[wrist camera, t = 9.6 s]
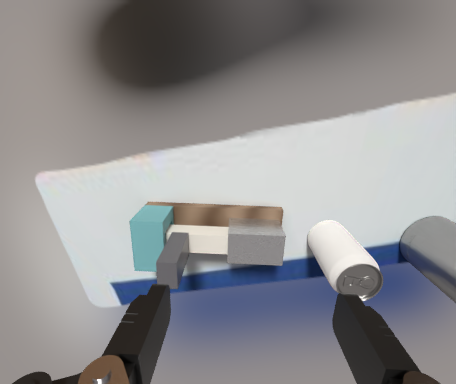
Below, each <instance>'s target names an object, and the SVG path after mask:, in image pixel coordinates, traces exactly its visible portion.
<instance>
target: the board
mask: <svg viewBox="0 0 456 384" xmlns="http://www.w3.org/2000/svg"><path fill="white" fill-rule="evenodd" d="M146 205H156V206H173V215H174V225H194V226H217V227H229V218H247V219H271V220H279V221H280V223H281V226H282V218H283V209H282V207H265V206H240V205H216V204H191V203H166V202H148V203H147V204H146Z"/></svg>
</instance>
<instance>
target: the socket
mask: <svg viewBox="0 0 456 384" xmlns="http://www.w3.org/2000/svg"><path fill="white" fill-rule="evenodd" d="M169 225H174V215H173V206H156V205H145V206H144V207H143V208H142V209H141V210H140V211H139V212H138V213H137V214H136V215H135V216H134V217H133V218H132V219H131V220H130V229H131V239H132V249H133V258H134V268H135V271H152V272H157V271H156V261H157V259H158V258H159V256H160V254H161V252H162V250H163V248H164V246H165V244H166V239H165V232H166V230H167V228H168V226H169Z"/></svg>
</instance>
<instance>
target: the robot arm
mask: <svg viewBox="0 0 456 384" xmlns="http://www.w3.org/2000/svg"><path fill="white" fill-rule="evenodd" d="M400 251H401V253H402V255H403V257H404V258H405V259H406V260H407V261H408V262H409V263H411V264H412V265H413V266H414V267H415V268H416V269H418V270H419V271H420V272H421V273H422V274H423V275H424V276H425V277H426V278H428V279H429V280H430V281H431V282H432V283H433V284H434V285H436V286H437V287H438V288H439V289H440V290H441V291H442V292H444V293H445V294H446V295H447V296H448V297H449V298H451V299H452V300H453V301H454V302H455V303H456V223H454V222H452V221H450V220H448V219H446V218H444V217H439V216H432V217H426V218H423V219H421V220H419V221H417V222H415V223H414V224H412V225H411V226H410V227H409V228H408V229H407V230H406V231H405V233H404V234H403V236H402V238H401V241H400ZM170 313H171V307H170V288H169V285H168V284H152V286H151V288H150V290H149V292H148V294H147V295H139V296H138V297H137V298H136V299H135V300H134V301H132V302H131V304H130V306H129V307H128V309H127V311H126V314H125V315H124V316H123V318H122V320H121V323H120V324H119V326H118V328H117V329H116V331H115V333H114V335H113V337H112V338H111V340H110V342H109V344H108V346H107V348H106V349H105V351H104V353H103V355H102V356H101V357H100V358H98V359H96V360H94V361H93V362H91V363H90V364H89V365H88V366H87V367H86V368H85V369H84V370H83V372H82V373H79V374H77V375H73V376H70V377H66V378H62V379H58V380H54V381H52V380H51V377H50V376H49V374H47V373H45V372H34V373H30V374H28V375H25V376H23V377H22V378H20V379H18V380H17V381H15V382H14V383H12V384H150V382H151V379H152V376H153V373H154V370H155V366H156V363H157V360H158V357H159V354H160V351H161V347H162V344H163V341H164V338H165V335H166V331H167V328H168V325H169V321H170ZM333 329H334V333H335V335H336V337H337V340H338V342H339V344H340V346H341V349H342V351H343V353H344V356H345V358H346V360H347V362H348V364H349V367H350V369H351V371H352V373H353V376H354V378H355V380H356V383H357V384H440V383H439V382H438V381H436V380H435V379H433V378H432V377H430V376H428V375H426V374H424V373H421V372H420V370H419V369H418V367H417V366H416V364H415V363H414V362H413V360H412V359H411V357H410V356H409V355H408V353H407V352H406V350H405V349H404V348H403V346H402V345H401V343H400V342H399V340H398V339H397V338H396V337H395V335H394V333H393V332H392V331H391V329H390V328H388V325H387V324H386V322H385V321H384V319H383V318H382V316H381V315H380V314H378V313H377V312H376V311H375V310H374V309H372V308H371V307H370V306H365V305H364V303H363V302H362V300H361V299H360V297H359V296H358V295H357V294H348V293H339V294H338V296H337V301H336V305H335V310H334V315H333Z"/></svg>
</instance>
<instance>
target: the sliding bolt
mask: <svg viewBox="0 0 456 384" xmlns="http://www.w3.org/2000/svg"><path fill="white" fill-rule="evenodd" d="M228 229H229V227H217V226H194V225H169V226H168V228H167V230H166V232H165V239H166V244H165V246H164V248H163V250H162V252H161V254H160V256H159V258H158V259H157V261H156V271H157V284H168V285H169V288H170V289H178V286H179V283H180V280H181V277H182V274H183V271H184V268H185V265H186V262H187V259H188V256H189V253H209V254H227V253H228Z"/></svg>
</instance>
